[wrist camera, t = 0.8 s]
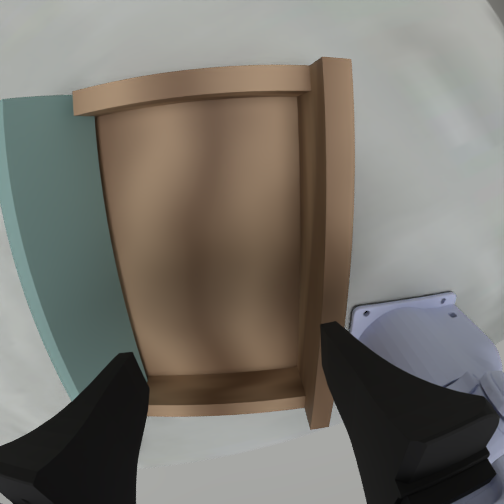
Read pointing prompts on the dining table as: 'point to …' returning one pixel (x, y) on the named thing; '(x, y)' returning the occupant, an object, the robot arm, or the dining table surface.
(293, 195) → the brown wooden drawer
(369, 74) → the dining table surface
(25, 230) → the panel
